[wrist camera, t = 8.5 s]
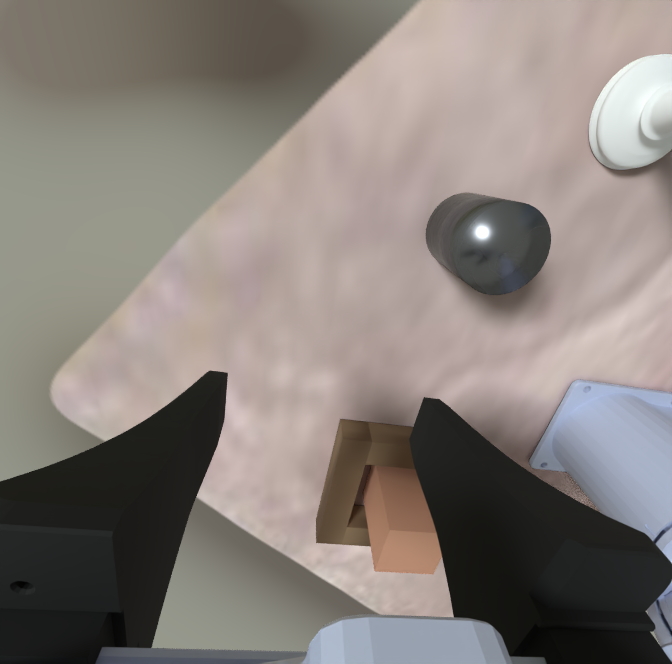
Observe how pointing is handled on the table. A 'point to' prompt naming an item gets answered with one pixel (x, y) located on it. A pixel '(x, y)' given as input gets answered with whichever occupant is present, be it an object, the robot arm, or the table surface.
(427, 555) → the terracotta block
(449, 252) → the metal cylinder
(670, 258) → the table surface
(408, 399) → the table surface
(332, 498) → the walnut collar
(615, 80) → the chess piece
